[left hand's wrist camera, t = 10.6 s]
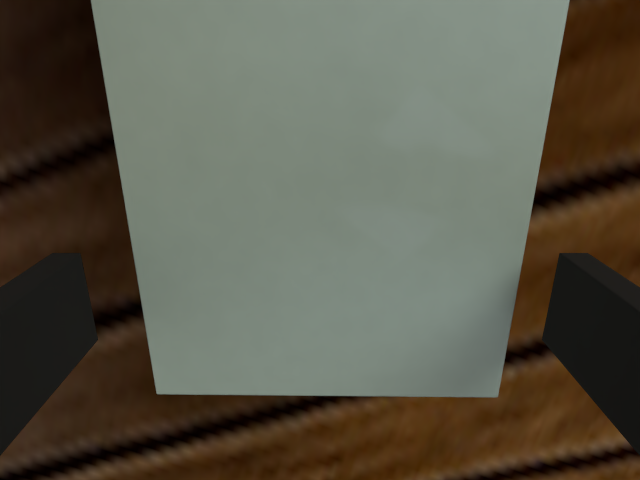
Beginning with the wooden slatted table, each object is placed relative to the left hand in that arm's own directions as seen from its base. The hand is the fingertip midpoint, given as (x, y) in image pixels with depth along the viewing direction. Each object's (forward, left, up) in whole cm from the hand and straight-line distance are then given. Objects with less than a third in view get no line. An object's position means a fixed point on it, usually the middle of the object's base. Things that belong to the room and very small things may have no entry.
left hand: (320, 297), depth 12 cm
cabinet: (+3, +6, -9) cm, 12 cm away
